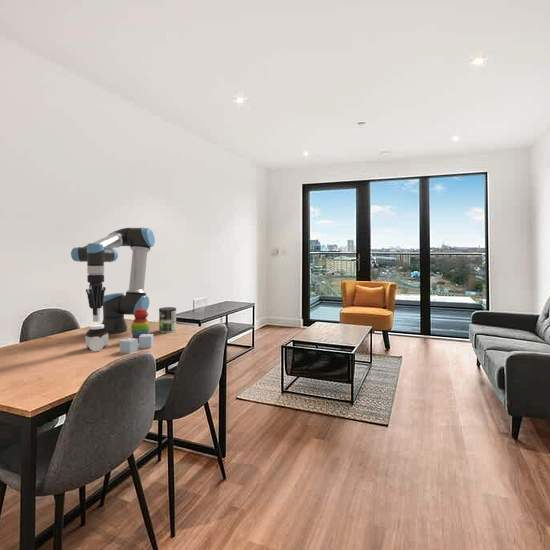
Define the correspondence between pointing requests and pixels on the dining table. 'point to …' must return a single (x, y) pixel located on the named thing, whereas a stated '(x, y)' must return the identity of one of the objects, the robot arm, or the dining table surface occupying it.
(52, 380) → the dining table surface
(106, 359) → the dining table surface
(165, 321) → the coffee can
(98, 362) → the dining table surface
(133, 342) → the pip block three
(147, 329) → the stacking bear
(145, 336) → the pip block two
